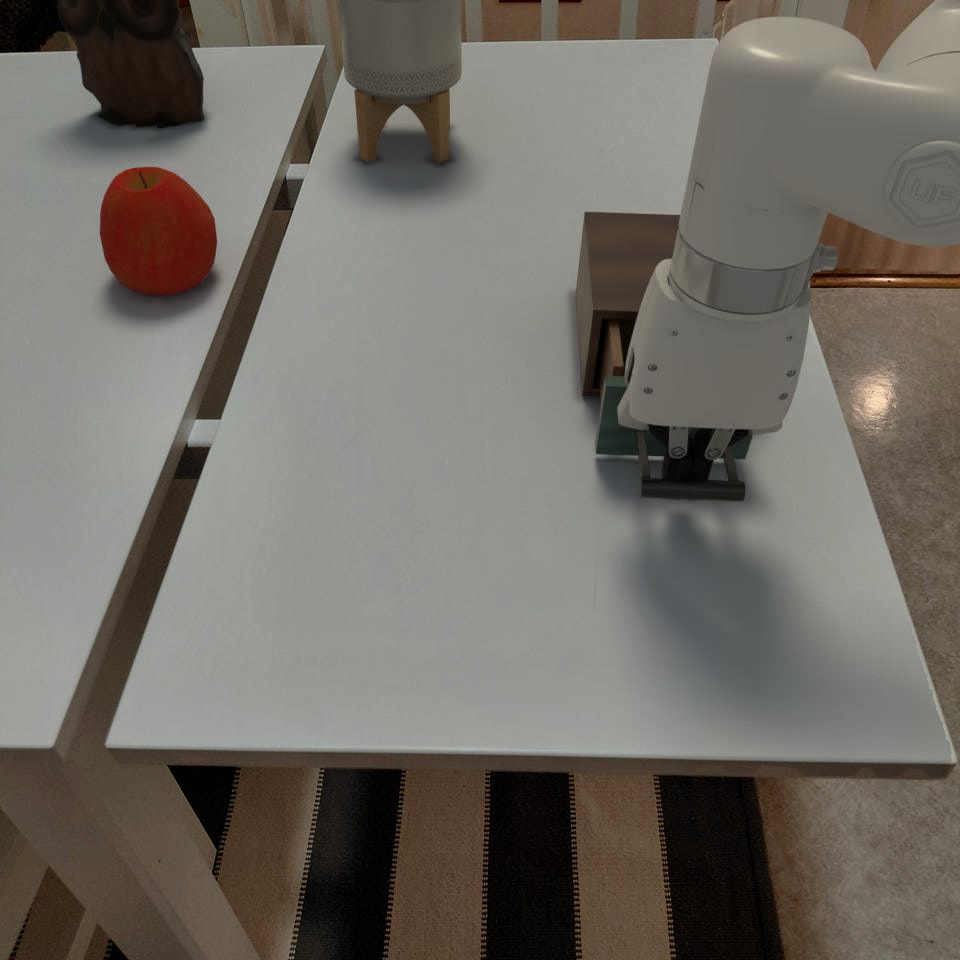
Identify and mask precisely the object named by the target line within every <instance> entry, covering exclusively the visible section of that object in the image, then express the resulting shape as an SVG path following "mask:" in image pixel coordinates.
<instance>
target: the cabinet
mask: <svg viewBox="0 0 960 960" xmlns="http://www.w3.org/2000/svg"><path fill="white" fill-rule="evenodd" d="M679 219H680V214H668V213H667V214H665V213H664V214H663V213H637V212H635V213H634V212H609V211H607V212H606V211H605V212H603V211H584V214H583V223H582V224H583V225H582V231H581V232H582V233H581V241H580V251H579V260H578V266H577V267H578V268H577V277H576V285H575V286H576V287H575V307H576V309H575V310H576V322H577V323H576V324H577V338H578V353H579V368H580V369H579V370H580V383H581V384H580V385H581V395H582V396H586V397H587V396H591V397H601V396H600V384H599V373H598V361H597V354H598V346H599V339H600V332H601V325H602V318H603V319H631V320H637V316H638V313H639V309H640V306H641V303H642V300H643V297H644V294H645V292H646V289H647V286H648V284H649V282H650V279H651V277H652V275H653V273H654V271H655V268H656V266H657V265H658V264H659V263H660V262H661V261H663V260H665V259H672V255H673V250H674V245H675V240H676V234H677V229H678V224H679Z"/></svg>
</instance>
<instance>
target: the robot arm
mask: <svg viewBox="0 0 960 960" xmlns="http://www.w3.org/2000/svg"><path fill="white" fill-rule="evenodd" d="M868 51H869V50H868V49H867V48H866V46H865V45H864V44H863V42H862V41H861V40H860V39H859V38H858V37H856V35H854V34H853V33H851V32H849V31H848V30H845V29H844V28H841V27H838V26H836V25H833V24H830V23H827V22H824V21H821V20H816V19H811V18H805V17H799V16H798V17H797V16H767V17H760V18H755V19H750V20H746V21H744V22H742V23H740V24H738V25H736V26H735V27H733V28H731V29H730V30H728V31H727V32H726V34H725V35H724V36H723V37H722V38H721V40H720V41H719V43H718V44H717V46H716V48H715V49H714V52H713V54H712V58H711V61H710V65H709V69H708V73H707V78H706V83H705V87H704V93H703V97H702V104H701V108H700V113H699V119H698V123H697V129H696V134H695V139H694V145H693V148H692V155H691V160H690V164H689V165H690V166H689V170H688V175H687V179H686V180H687V181H686V184H685V185H686V186H685V191H684V194H683V201H682V205H681V210H680V214H679V215H680V219H679V224H678V229H677V234H676V240H675V245H674V250H673V255H672V259H665V260H663V261H661V262H660V263H659V264H658V265H657V266H656V268H655V271H654V273H653V275H652V277H651V279H650V282H649V284H648V286H647V289H646V292H645V294H644V297H643V300H642V303H641V306H640V309H639V313H638V316H637V320H636V323H635V327H634V330H633V334H632V338H631V342H630V346H629V350H628V354H627V359H626V365H625V383H626V384H629V386H628V388H627V390H626V392H625V393H624V395H623V397H622V399H621V401H620V403H619V405H618V408H617V413H618V422H619V424H620V425H622V426H626V427H630V428H634V429H639V430H643V431H644V429H645V430H649V432H650V433H651V434H652V435H653V436H654V437H655V438H656V439H657V440H659V441H660V442H661V443H662V444H663V445H664V446H665V447H666V450H665V454H664V457H663V459H662V463H661V478H671V479H698V480H709V477H710V474H711V471H712V468H713V464H714V461H715V460H719V458H720V457H721V456H722V455H723V453H724V451H725V449H726V448H727V447H729V446H731V445H732V444H734V443H736V442H738V441H740V440H741V439H743V438H745V437H746V436H748V434H751V435H753V436H757V435H764V434H773V433H777V432H779V431H780V430H781V429H782V428H783V421H784V419H785V418H786V416H787V414H788V412H789V411H790V408H791V405H792V402H793V399H794V396H795V393H796V390H797V386H798V382H799V379H800V374H801V370H802V367H803V362H804V356H805V350H806V346H807V339H808V333H809V325H810V318H811V306H812V289H811V284H810V281H811V278H812V276H813V275H814V274H815V273H820V272H822V271H834V270H835V268H836V267H837V264H838V261H839V250H838V247H837V246H836V245H835V246H833V245H825V244H824V243H821V242H819V241H820V238H821V235H822V231H823V229H824V226H825V224H826V223H825V222H826V219H827V216H828V214H831V215H833V216H835V217H838V218H840V219H843V220H844V221H847V222H849V223H852V224H853V225H856V226H858V227H860V228H863V229H865V230H867V231H869V232H872V233H875V234H877V235H880V236H883V237H885V238H888V239H891V240H894V241H896V242H900V243H904V244H909V245H913V246H918V247H930V248H931V247H936V248H937V247H938V248H942V247H950V246H957V245H960V0H934V1H933V2H931V3H930V4H929V5H928V6H927V7H926V8H925V9H924V10H923V11H922V12H920V14H919V15H918V16H917V17H915V19H913V20H912V22H911V23H909V25H907V26H906V27H905V28H904V29H903V31H902V32H901V33H900V34H899V35H898V36H897V38H896V39H895V40H894V41H893V42H892V43H891V45H890V47H889V48H888V49H887V51H886V52H885V53H884V55H883V57H882V58H881V60H880V61H879V63H878V65H877V68H876V70H875V69H874V67H873V65H872V61H871V57H870V54H869V52H868ZM688 427H697V428H700V429H699V430H694V429H693V431H692V434H689V436H688ZM672 500H675V501H678V500H679V501H681V500H680V499H672Z"/></svg>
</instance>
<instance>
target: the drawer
mask: <svg viewBox="0 0 960 960" xmlns="http://www.w3.org/2000/svg"><path fill="white" fill-rule="evenodd" d="M635 323H636V320H631V319H603V318H602V325H601V332H600V339H599V346H598V354H597V361H598V373H599V384H600V396H599V397H600V407H599V413H598V414H599V415H598V419H597V420H598V421H597V425H596V426H597V427H596V433H595V440H594V451H595V455H607V456H635V457H636V456H637V460H638V469H639V476H640V477H639V479H638V485H637V487H638V488H637V493H638V494H637V495H638V498H639V499H656V500H662V499H663V500H673V499H680V500H679V501H681V500H682V501H683V500H684V501H685V500H686V501H709V502H710V501H712V502H734V503H735V502H737V503H738V502H739V503H742V502H744V501H745V499H746V494H747V487H746V483H745V481H743V480H740V479H739V474H738V470H737V466H736V465H737V464H736V460H740V461H741V460H746V459H747V455H748V452H749V449H750V446H751V442H752V440H753V437H754V435H751V434H748V436H746V437H745V438H743V439H741V440H740V441H738V442H736V443H734V444H732V445H731V446H729V447H727V448H726V449H725V451H724V453H723V455H722V456H721V457H720V458H719V459H720V460H723V464H724V470H725V474H726V478H727V480H721V479H708V480H698V479H671V478H662V477H652V474H651V468H650V460H649V457H661V458H662V457H663V458H664V454H665V450H666V447H665V446H664V445H663V444H662V443H661V442H660V441H659V440H657V439H656V438H655V437H654V436H653V435H652V434H651V433H650V432H649V430H645V429H644V431H643V430H639V429H634V428H630V427H626V426H622V425H620V424H619V422H618V413H617V408H618V405H619V403H620V401H621V399H622V397H623V395H624V393H625V392H626V390H627V388H628V386H629V384H626V383H625V365H626V359H627V354H628V350H629V346H630V342H631V338H632V334H633V330H634V327H635ZM693 429H694V430H699V429H700V428H697V427H688V436H689V434H692V431H693ZM719 459H718V460H719Z"/></svg>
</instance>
